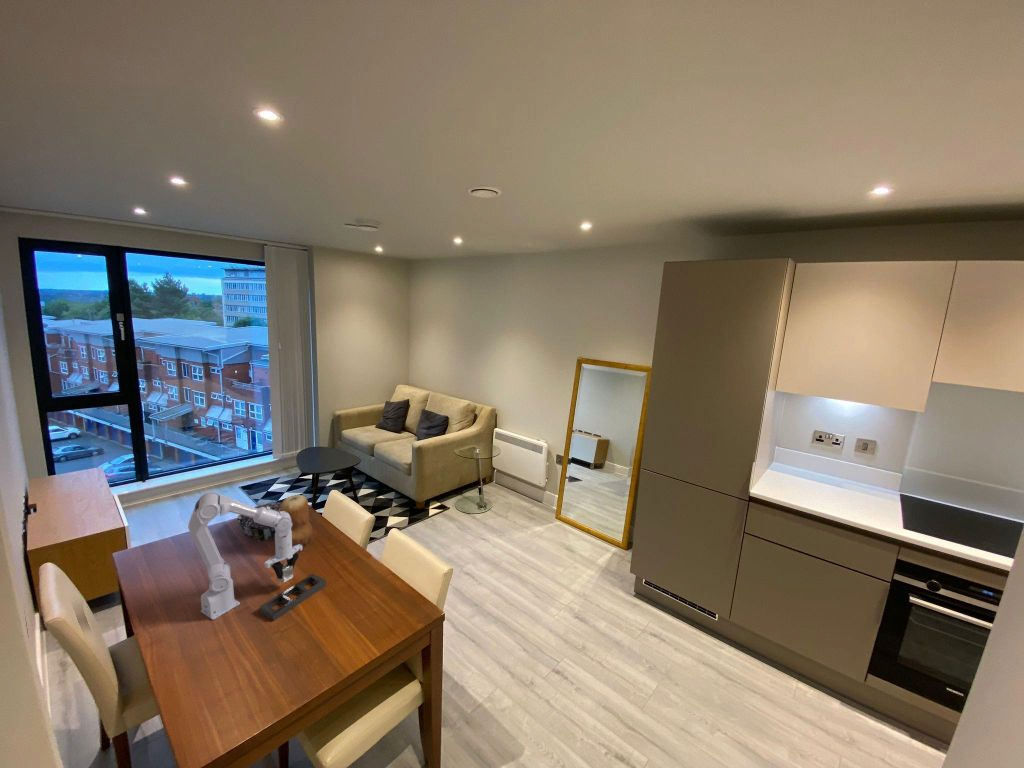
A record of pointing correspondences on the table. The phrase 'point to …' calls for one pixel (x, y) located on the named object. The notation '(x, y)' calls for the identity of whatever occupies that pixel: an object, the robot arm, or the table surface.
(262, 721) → the table surface
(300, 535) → the butternut squash
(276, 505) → the decorative bowl
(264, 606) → the rack rail
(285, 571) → the block
